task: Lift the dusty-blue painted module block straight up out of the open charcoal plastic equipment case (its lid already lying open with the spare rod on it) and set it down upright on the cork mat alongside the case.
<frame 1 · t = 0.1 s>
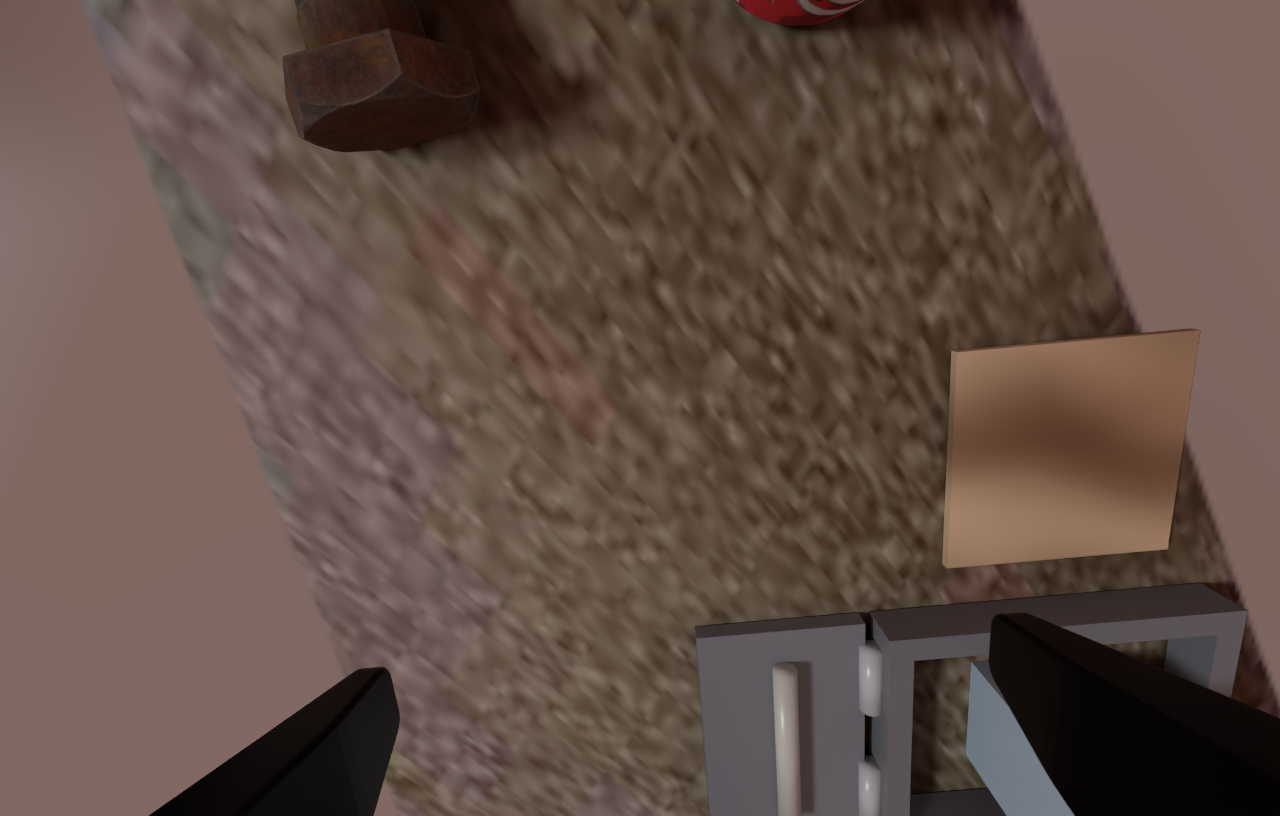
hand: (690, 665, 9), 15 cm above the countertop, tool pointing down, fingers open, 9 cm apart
module: (1024, 704, 27), resting in case
case: (1025, 705, 27), on the countertop
pad: (1060, 451, 24), on the countertop
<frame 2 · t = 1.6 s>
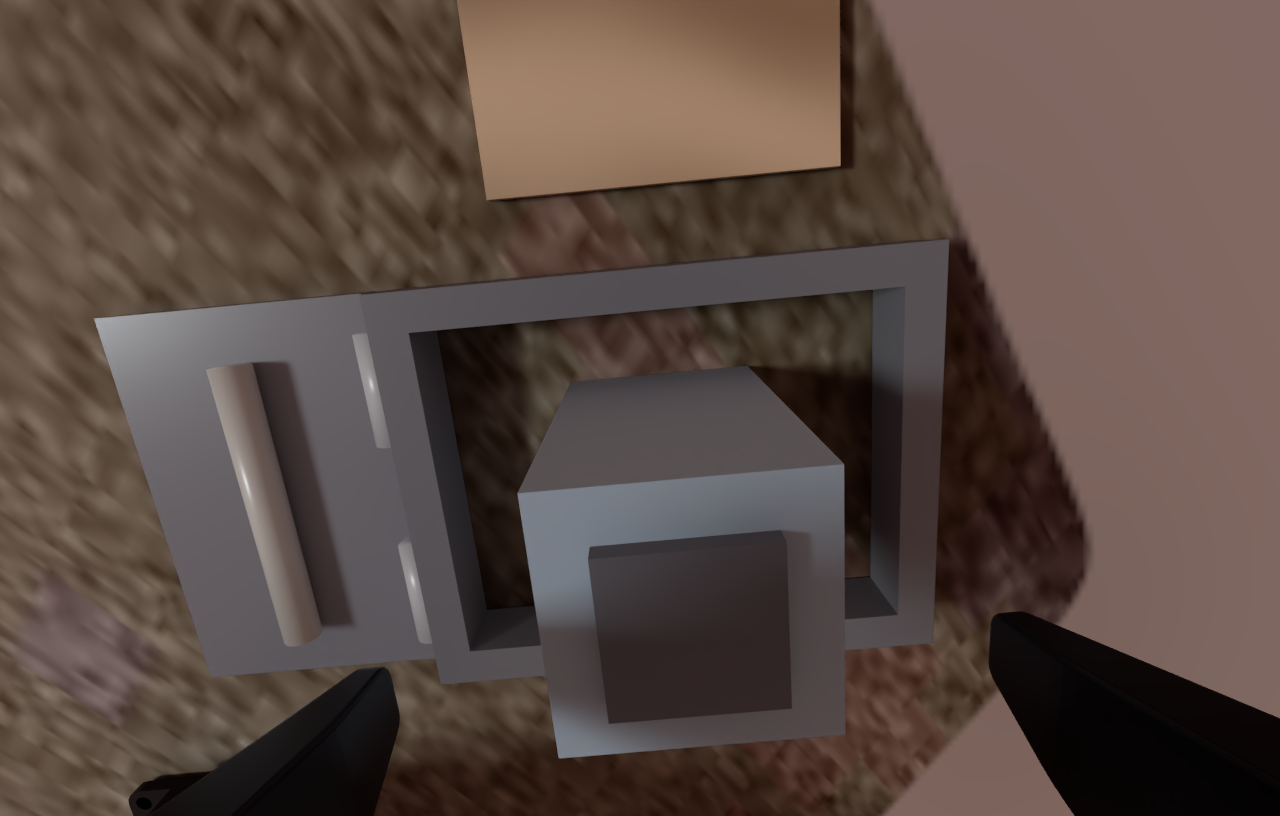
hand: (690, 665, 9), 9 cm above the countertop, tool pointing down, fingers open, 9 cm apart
module: (666, 457, 17), resting in case
case: (666, 457, 17), on the countertop
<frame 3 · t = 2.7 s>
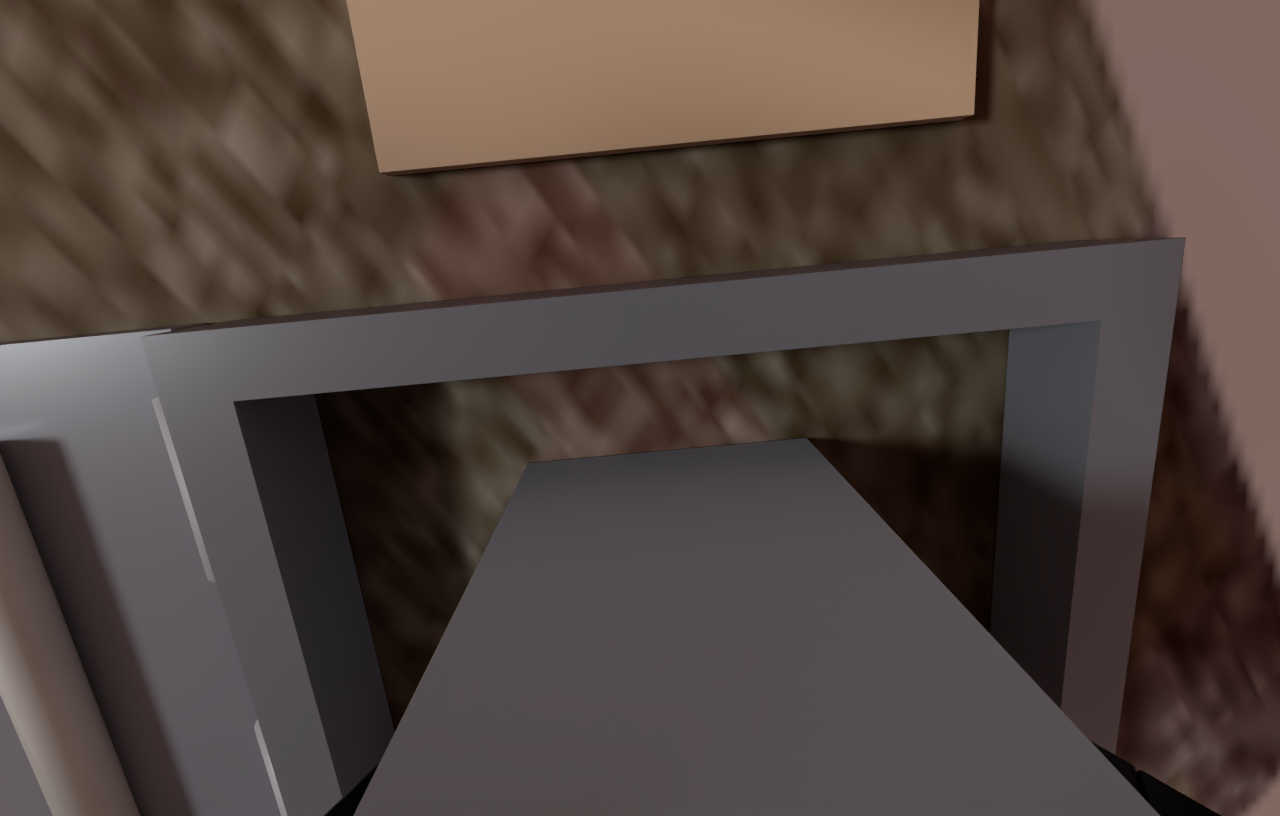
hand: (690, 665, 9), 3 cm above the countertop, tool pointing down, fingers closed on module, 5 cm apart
module: (677, 575, 11), resting in case, touching gripper
case: (677, 575, 11), on the countertop
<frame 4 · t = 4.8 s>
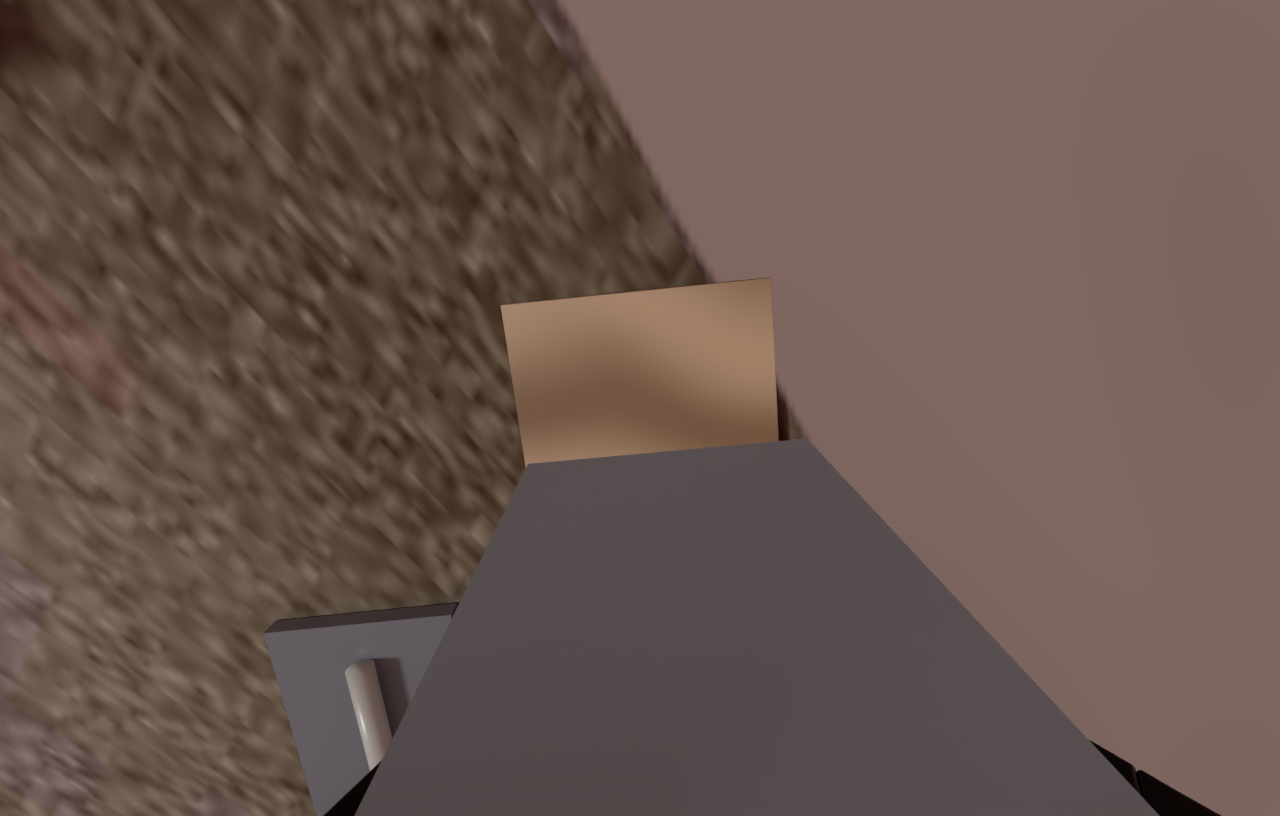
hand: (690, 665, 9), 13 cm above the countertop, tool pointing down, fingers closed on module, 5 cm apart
module: (677, 575, 11), point 10 cm above the countertop, touching gripper
case: (664, 704, 24), on the countertop
pad: (648, 419, 21), on the countertop
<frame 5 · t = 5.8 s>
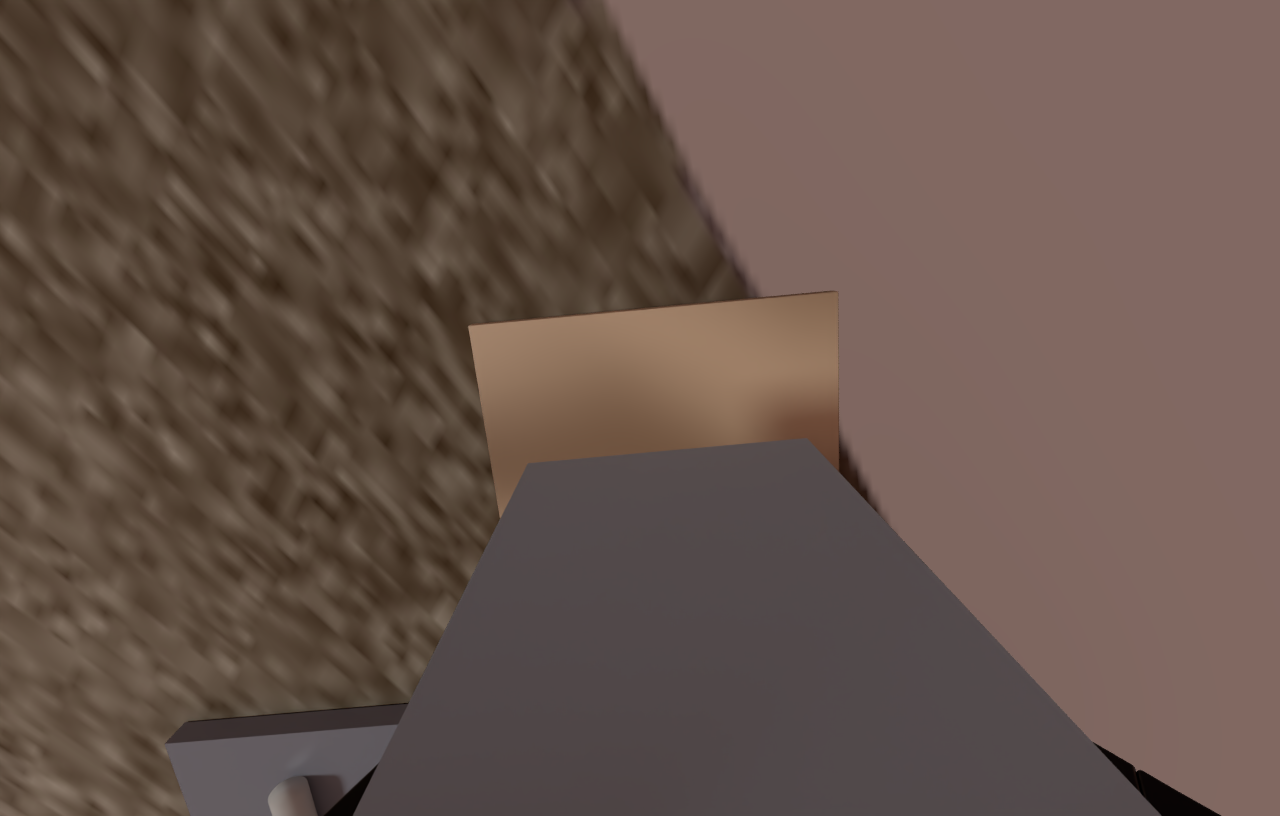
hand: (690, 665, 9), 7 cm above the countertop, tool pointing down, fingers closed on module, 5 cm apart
module: (677, 575, 11), point 5 cm above the countertop, touching gripper
pad: (666, 476, 16), on the countertop
when the fingers open (4 cm above the countertop, at t = 6.8 s): module drops 1 cm, resting on pad.
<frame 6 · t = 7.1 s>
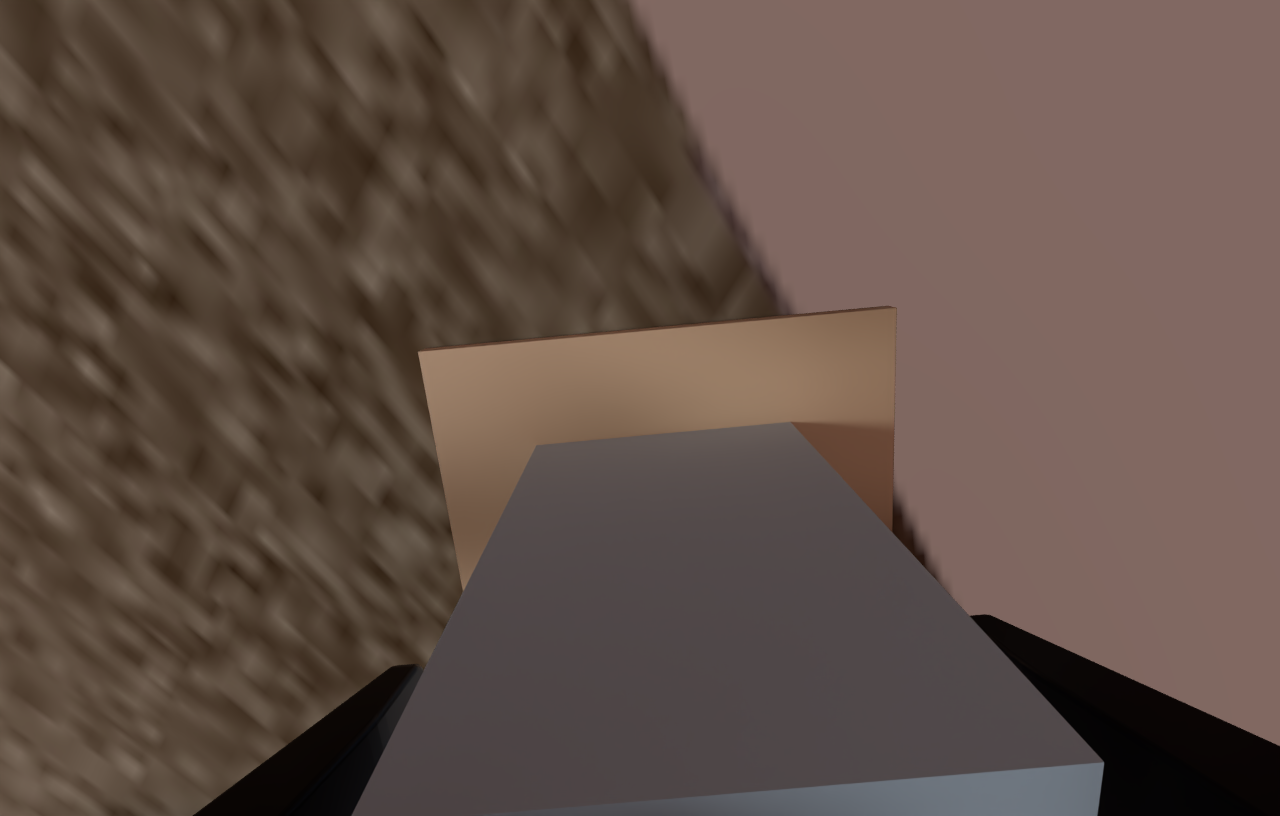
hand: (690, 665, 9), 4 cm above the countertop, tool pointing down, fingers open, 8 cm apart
module: (672, 548, 12), resting on pad
pad: (673, 537, 13), on the countertop
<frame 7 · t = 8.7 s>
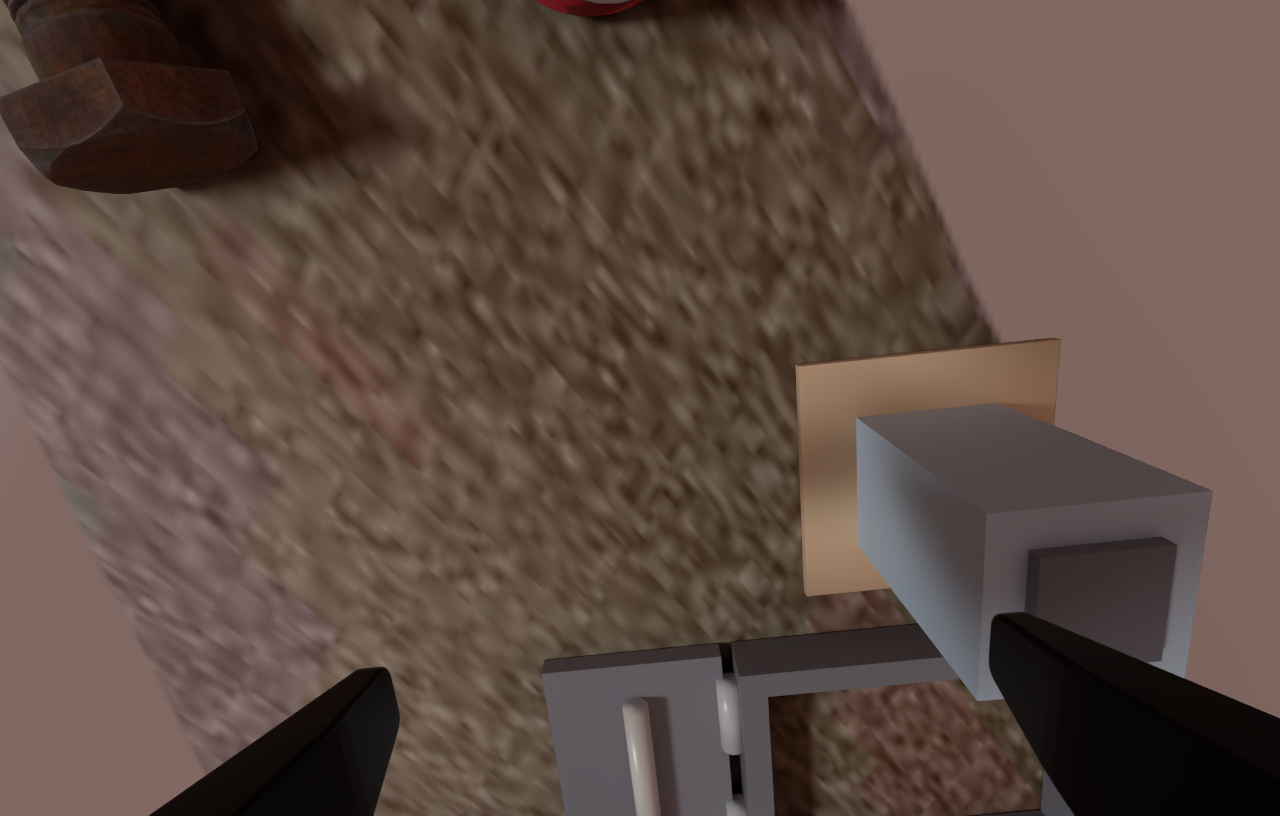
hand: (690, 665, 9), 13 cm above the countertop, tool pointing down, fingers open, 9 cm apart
module: (925, 476, 22), resting on pad
case: (904, 738, 25), on the countertop
pad: (921, 471, 22), on the countertop
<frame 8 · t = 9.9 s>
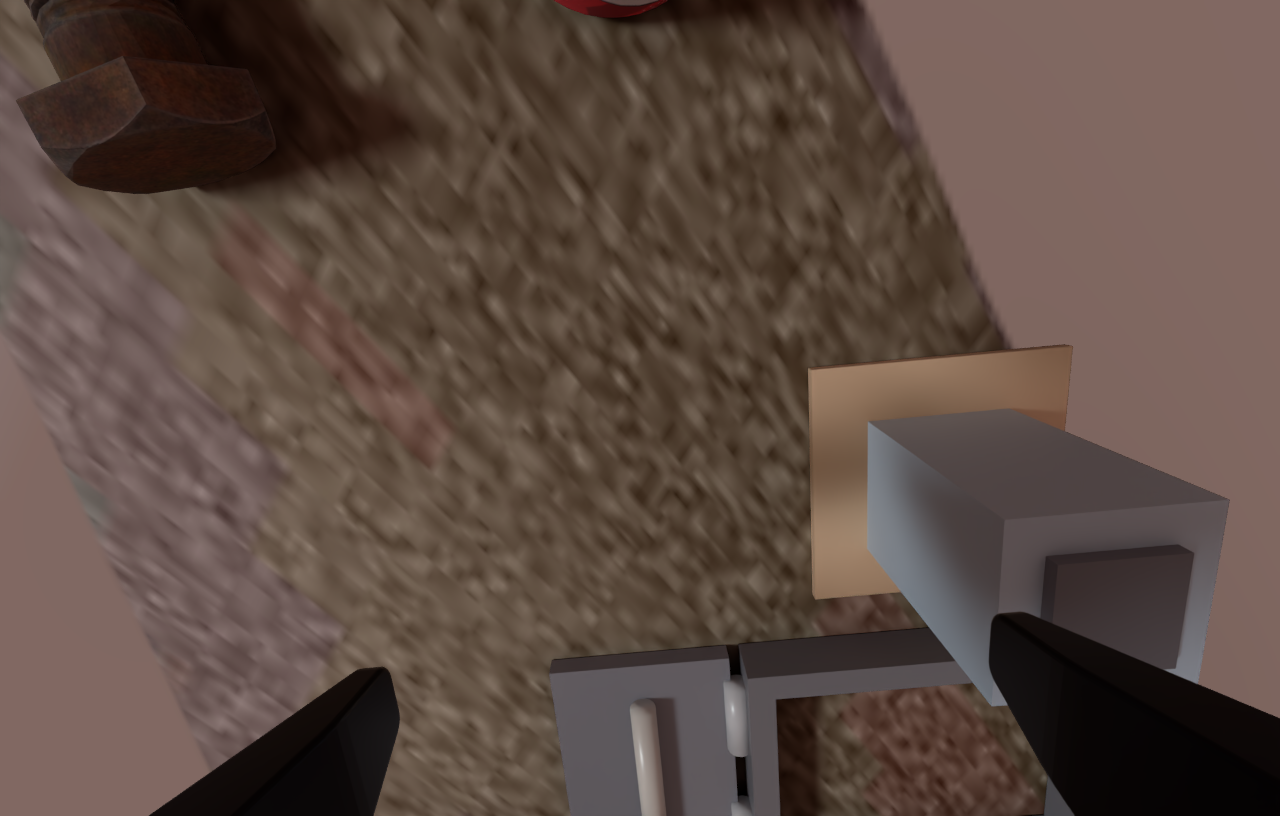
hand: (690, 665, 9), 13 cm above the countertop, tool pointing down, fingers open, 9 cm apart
module: (936, 480, 22), resting on pad
case: (910, 742, 25), on the countertop
pad: (931, 475, 22), on the countertop
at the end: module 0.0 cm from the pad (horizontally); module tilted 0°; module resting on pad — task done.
